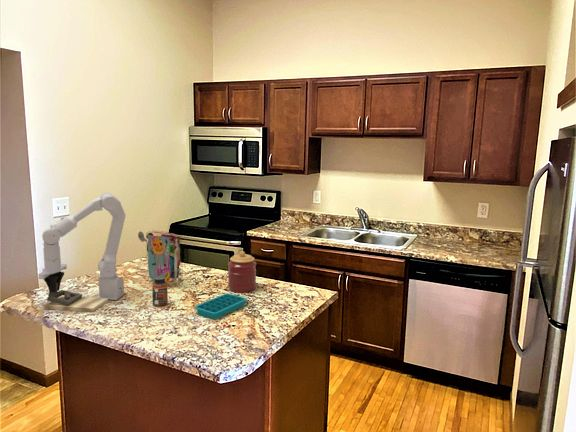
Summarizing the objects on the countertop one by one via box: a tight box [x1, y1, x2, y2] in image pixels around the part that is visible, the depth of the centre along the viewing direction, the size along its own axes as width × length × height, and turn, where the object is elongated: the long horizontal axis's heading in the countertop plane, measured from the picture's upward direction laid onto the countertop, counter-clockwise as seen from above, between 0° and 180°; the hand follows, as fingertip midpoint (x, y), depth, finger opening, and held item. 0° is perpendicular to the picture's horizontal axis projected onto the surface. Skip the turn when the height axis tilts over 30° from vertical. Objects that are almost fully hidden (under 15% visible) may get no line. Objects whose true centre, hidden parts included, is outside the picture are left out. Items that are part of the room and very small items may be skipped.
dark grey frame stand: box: [46, 282, 83, 306], centre depth 169 cm, size 11×9×6 cm
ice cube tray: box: [194, 293, 248, 320], centre depth 169 cm, size 12×20×3 cm, turn 147°
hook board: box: [44, 291, 109, 313], centre depth 169 cm, size 20×11×5 cm, turn 84°
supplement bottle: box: [151, 277, 169, 307], centre depth 172 cm, size 6×6×11 cm
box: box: [137, 230, 184, 288], centre depth 198 cm, size 25×6×24 cm, turn 62°
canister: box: [227, 250, 257, 293], centre depth 193 cm, size 13×13×18 cm
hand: (54, 291), depth 169 cm, fingers closed on dark grey frame stand
